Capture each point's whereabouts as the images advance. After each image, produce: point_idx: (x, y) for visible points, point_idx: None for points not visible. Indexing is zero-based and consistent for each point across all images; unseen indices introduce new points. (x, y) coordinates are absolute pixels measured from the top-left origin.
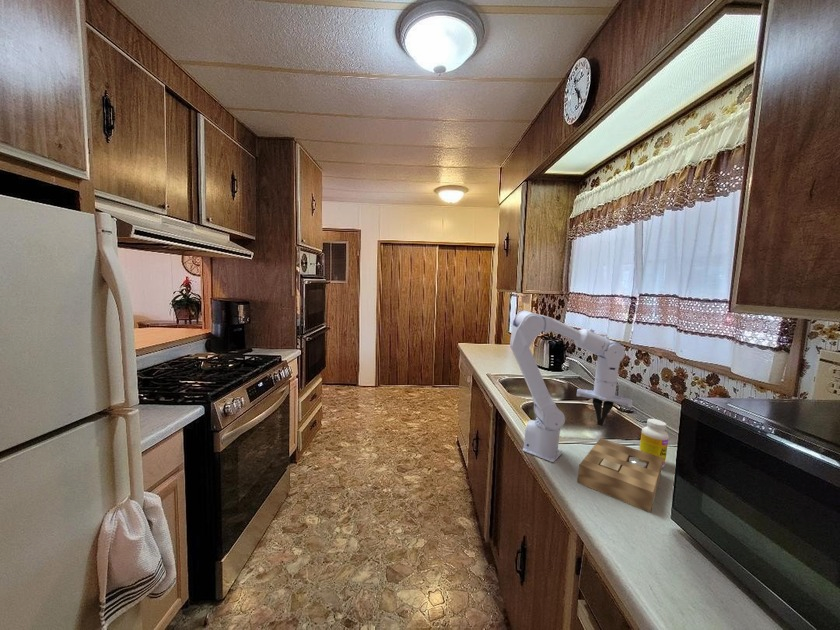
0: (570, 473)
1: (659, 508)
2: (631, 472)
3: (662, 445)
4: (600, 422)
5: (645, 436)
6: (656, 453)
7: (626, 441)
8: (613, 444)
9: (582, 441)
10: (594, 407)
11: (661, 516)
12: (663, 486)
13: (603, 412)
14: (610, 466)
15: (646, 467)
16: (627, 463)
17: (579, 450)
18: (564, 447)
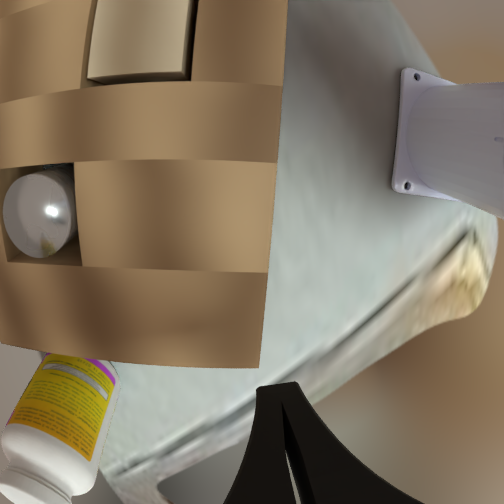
0: (318, 23)
1: None
2: (40, 49)
3: (15, 409)
4: (279, 400)
5: (62, 435)
6: (38, 378)
7: (191, 456)
8: (181, 341)
9: (324, 370)
10: (402, 493)
11: None
12: None
13: (279, 490)
14: (134, 8)
15: None
16: (62, 139)
17: (327, 284)
18: (387, 262)
